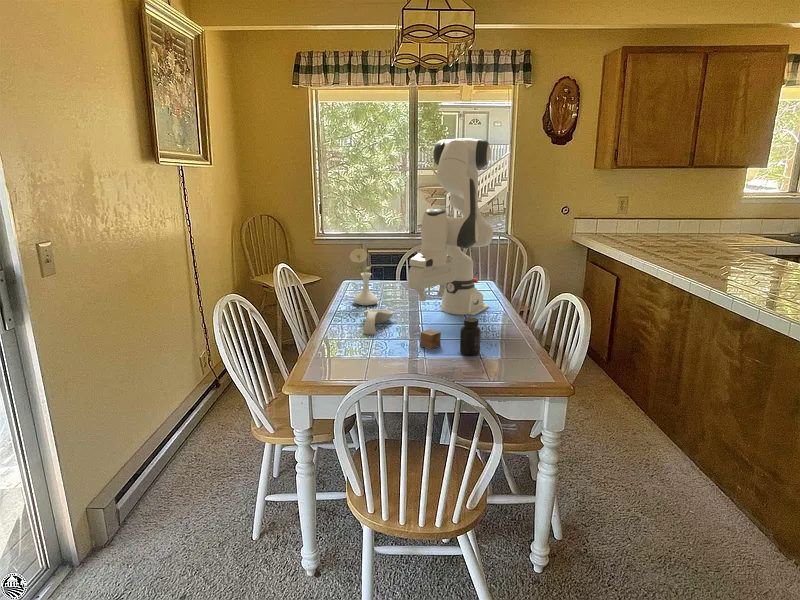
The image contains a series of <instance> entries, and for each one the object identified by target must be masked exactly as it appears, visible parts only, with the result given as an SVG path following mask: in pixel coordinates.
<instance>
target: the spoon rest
mask: <svg viewBox="0 0 800 600" xmlns="http://www.w3.org/2000/svg"><path fill="white" fill-rule="evenodd" d="M363 315H364V317H365V322H364V325H363V330H362V331H363V334H364V335H373V336H374V335H376V334H377V332H376V331H377V330H376V324H384V323H386V322H387V321H390V319H391V318H392V317H393V315H394V312H393V311H392V310H391V309H383V308H382V309H379V308H378V309H377V308H375V309H373V308H372V309H367V310H364V311H363Z"/></svg>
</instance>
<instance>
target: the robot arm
mask: <svg viewBox="0 0 800 600" xmlns="http://www.w3.org/2000/svg"><path fill="white" fill-rule="evenodd" d="M432 154H433V161H434V163H435V164H436V166H437V170H436V171H437V172H436V180H437V182H438V184H439V186H440V187H442V189H443V190H445V191H446V192H448V193H450V195H449V203H450V206H451V207H452V208H453V209H454V210H455V211H458V212H460V214H461V215H462V217H449V216H448V213H447V211H446V209H443V208H439V207H438V208H437V207H436V208H435V207H433V208H428V209H426V210H424V211H423V215H422V220H421V226H420V227H421V228H420V229H421V230H420V239H421V245H420V252H418V253H417V254H415V255H414V256H413V257H410V259H409V266H410V267H409V269H408V270H409V271H408V286H409V288H410V289H411V290H415V291H416V292H417V294H418V295H419V296H418V297H419V298H418V300H419V302H425V301H427V295H425V293H424V292H425V289H428V288H432V287H436V286H437V287H438V286H439V289H438V290H437V297H440V298H441V297H442V301H441V303H440V304H439V306H440V309H441V311H442V312H444V313H447V314H453V315H470V316H471V315H472V316H473V315H474V316H476V315H477V314H479V313H481V312H483V311H485V310H486V309H488V308H489V304H487V303H485V302H484V295H483V293H482V292H481V291H479V290H478V288H477V287H476V285H475V284H478V283H479V278H475V277H474V261H473V258H471V257H470V256H469V255H467V254H466V253H464V252H463V251H462V249H463V248H465V249H469V248H481V247H488V245H490V244H491V242H492V241H493V238H494V230H493V227H492V225H491V224H490V222H488V221H487V220H486V219H485V218H484V217H483V215H482V213H481V211H480V209H479V200H478V198H479V196H478V193H479V189H478V188H479V171H481V170H482V169H483V168H485V167H486V166H487V165H488V164H489V162H490V159H491V157H492V150H491V146H490V143H489V141H488V140H485V139H482V138H479V139H476V138H467V137H465V138H452V139H445V138H444V139H440V140H438V141H437V142H436V143H435V144H434V147H433V151H432ZM461 248H462V249H461Z"/></svg>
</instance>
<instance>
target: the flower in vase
mask: <svg viewBox="0 0 800 600" xmlns="http://www.w3.org/2000/svg"><path fill="white" fill-rule="evenodd" d="M348 256H349V258H350V261H351V262H355V263H359V264H361V263H362V262H364V261H366V260H367V258H368V252H367V251H366V249H364V248H355V249H353V250H352V251H351V252H350V254H349V255H348ZM372 266H373V265H369V266H366V267H364V269H363V268H362V266H361V265H359V266H357V265H356V266H353V267H352V268H351V269H350V270H351V271H355V272H356V271H360V270H361V271H362V272H361V273H359V274H360V276H361V277H362V282H363V288H362V290H361V291H360V292H359V293H357V295H355V296H354V297H353V300H352V301H353V303H354V304H356V305H361V306H372V305H375V304H377V303H379V301H380V300H379V298H378V297H377V296H376V294H374V293H373V292H372V291H371V290H370V289H369V282H370V278H371V276H372V273H371V272H367V271H369V270H370V269H372Z"/></svg>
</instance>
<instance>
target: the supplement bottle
mask: <svg viewBox="0 0 800 600" xmlns="http://www.w3.org/2000/svg"><path fill="white" fill-rule="evenodd" d="M479 320H480V319H479V318H477V317H473V316H472V317H471V316H470V317H469V316H468V317H465V318H464V319H463V325H462V327H461V328H460V334H459V335H460V336H459V337H460V338H459V353H460V354H461V355H462V356H465V357H477V356H479V355H480V354H481V343H482V329H481V328H480V326H479V323H480V322H479Z"/></svg>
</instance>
